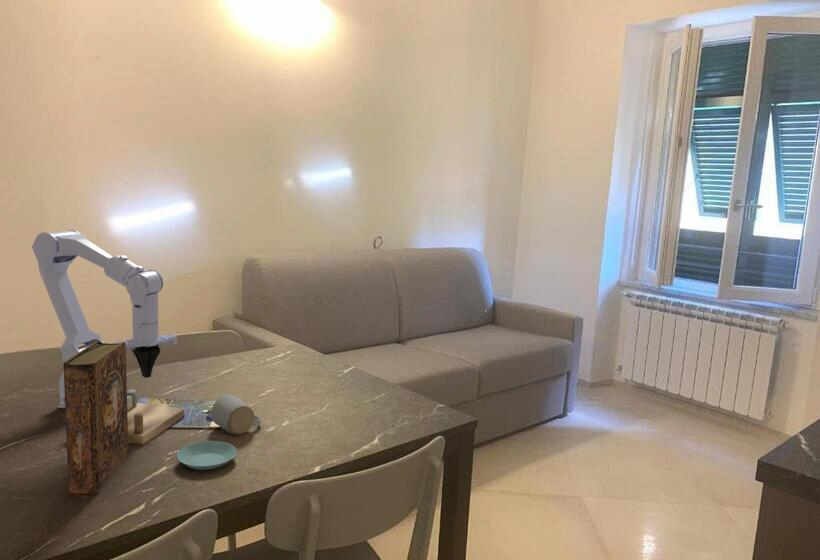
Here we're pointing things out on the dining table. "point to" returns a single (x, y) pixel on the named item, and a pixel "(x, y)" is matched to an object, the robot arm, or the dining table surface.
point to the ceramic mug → (233, 415)
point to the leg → (131, 399)
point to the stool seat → (150, 421)
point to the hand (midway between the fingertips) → (146, 376)
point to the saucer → (206, 455)
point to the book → (95, 416)
